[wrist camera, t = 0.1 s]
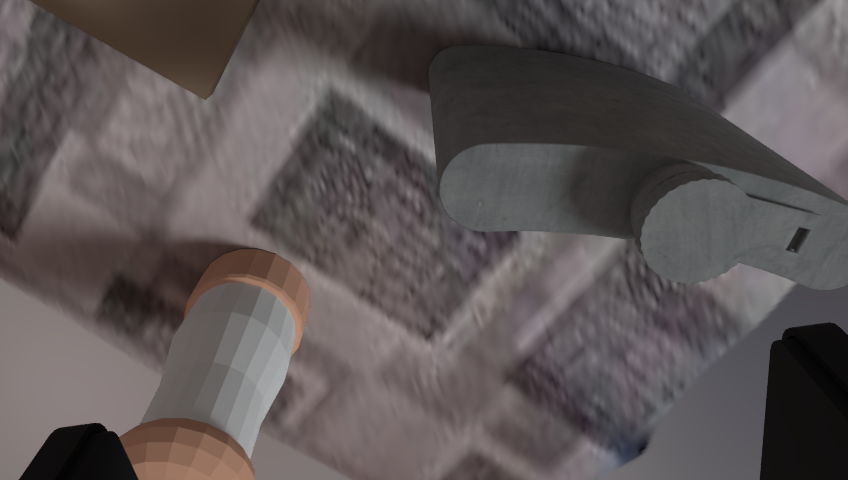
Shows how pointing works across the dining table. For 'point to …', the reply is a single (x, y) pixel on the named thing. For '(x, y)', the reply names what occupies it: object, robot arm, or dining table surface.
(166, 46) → the walnut board
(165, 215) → the dining table surface
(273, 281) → the salt shaker
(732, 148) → the hip flask
